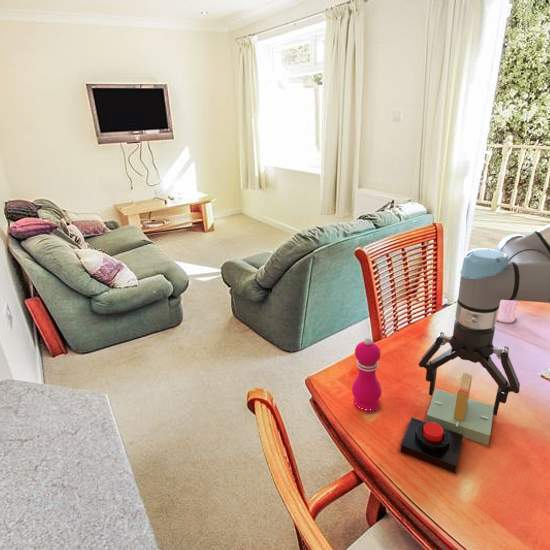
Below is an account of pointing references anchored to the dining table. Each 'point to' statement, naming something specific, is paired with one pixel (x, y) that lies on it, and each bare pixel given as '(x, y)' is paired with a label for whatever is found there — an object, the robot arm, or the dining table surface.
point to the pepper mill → (367, 376)
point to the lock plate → (474, 419)
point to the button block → (432, 446)
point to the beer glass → (507, 311)
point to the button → (433, 432)
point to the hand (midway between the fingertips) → (462, 401)
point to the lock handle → (462, 396)
